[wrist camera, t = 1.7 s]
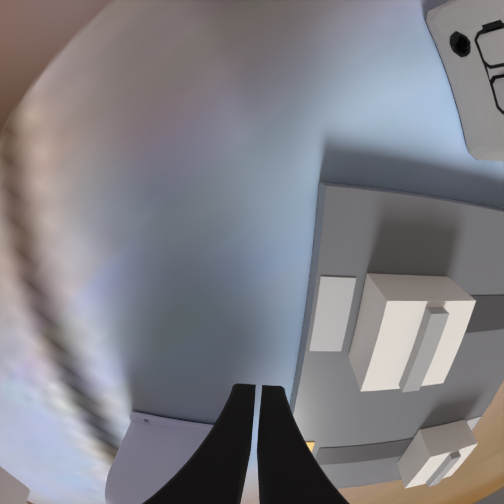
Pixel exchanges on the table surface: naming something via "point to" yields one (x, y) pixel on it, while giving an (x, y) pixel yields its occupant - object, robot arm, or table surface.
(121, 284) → the table surface
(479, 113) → the electrical switch
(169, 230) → the table surface
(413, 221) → the switch panel
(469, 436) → the slider
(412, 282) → the slider
